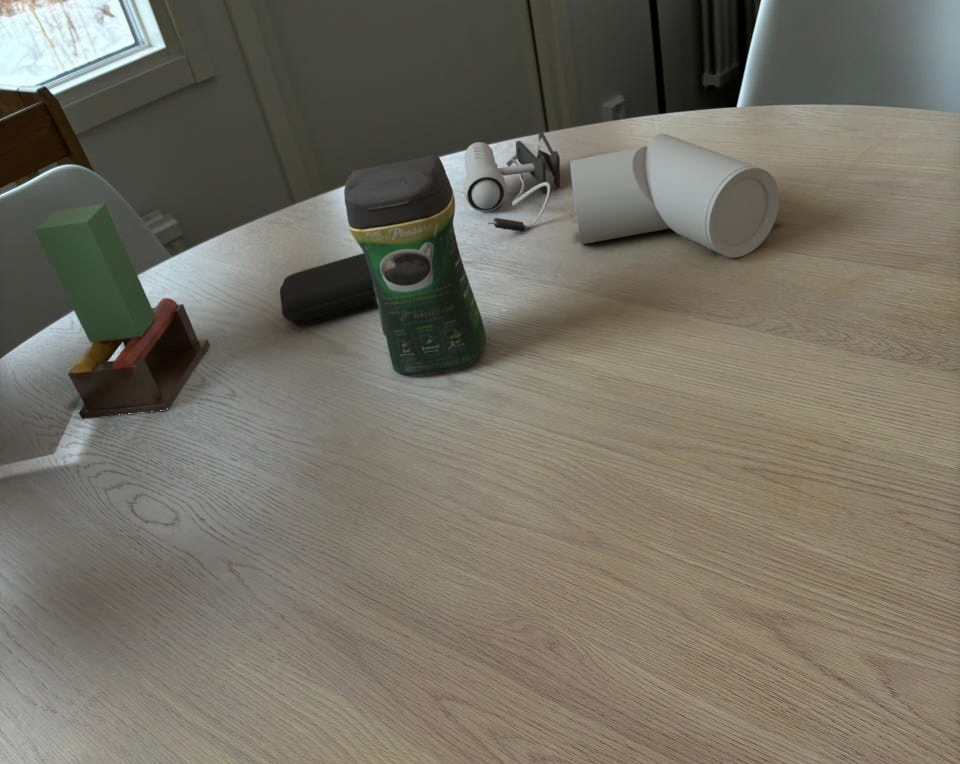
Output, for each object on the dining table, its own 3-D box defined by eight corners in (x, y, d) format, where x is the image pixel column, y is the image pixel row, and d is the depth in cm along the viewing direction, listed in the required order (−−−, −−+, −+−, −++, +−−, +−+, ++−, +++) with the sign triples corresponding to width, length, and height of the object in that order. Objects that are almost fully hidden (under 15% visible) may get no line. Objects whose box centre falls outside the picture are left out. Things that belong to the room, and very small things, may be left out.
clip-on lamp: (574, 245, 122) (552, 158, 132) (573, 196, 116) (550, 109, 126) (473, 260, 122) (459, 171, 132) (468, 211, 116) (453, 122, 127)
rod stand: (81, 419, 109) (53, 367, 105) (130, 354, 118) (106, 304, 114) (166, 411, 107) (141, 357, 102) (210, 345, 116) (188, 293, 111)
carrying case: (289, 339, 113) (420, 301, 113) (279, 313, 110) (413, 275, 110) (283, 298, 120) (406, 263, 120) (274, 273, 118) (400, 237, 118)
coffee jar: (490, 330, 105) (450, 138, 92) (484, 371, 99) (439, 173, 87) (398, 343, 107) (345, 158, 94) (386, 384, 101) (329, 193, 89)
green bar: (90, 343, 107) (32, 229, 99) (106, 323, 110) (51, 211, 102) (141, 337, 106) (87, 221, 98) (156, 317, 109) (105, 203, 101)
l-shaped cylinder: (758, 172, 115) (578, 205, 119) (759, 78, 107) (565, 118, 110) (784, 276, 106) (587, 309, 109) (787, 183, 97) (573, 222, 101)
